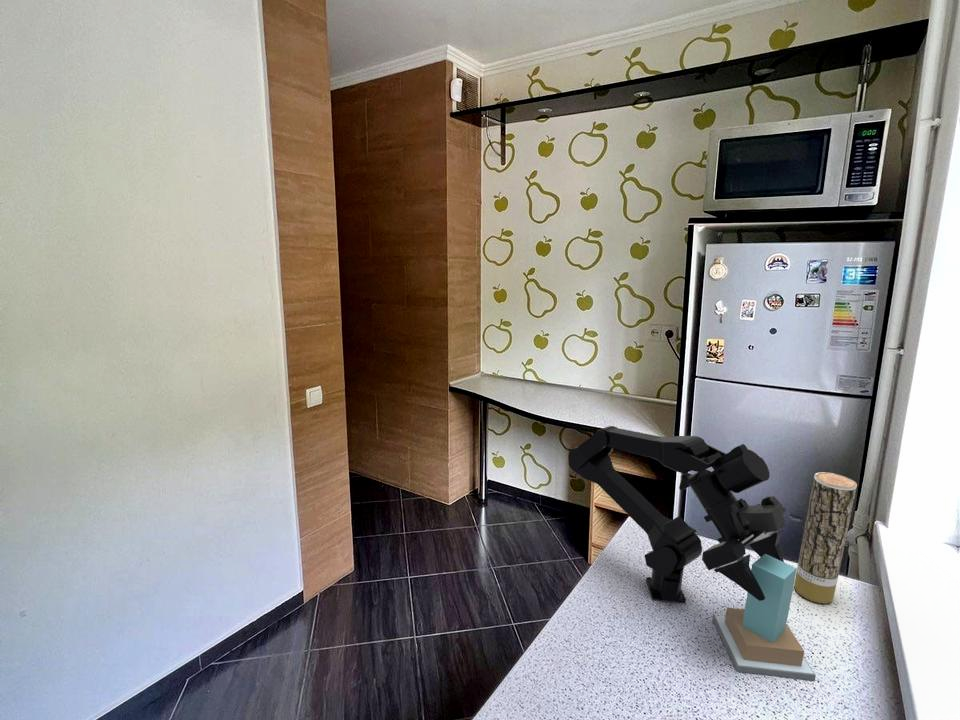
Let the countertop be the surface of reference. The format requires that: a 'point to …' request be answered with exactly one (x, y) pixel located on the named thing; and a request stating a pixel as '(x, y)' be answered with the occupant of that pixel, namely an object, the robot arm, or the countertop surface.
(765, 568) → the teal block
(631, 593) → the countertop surface
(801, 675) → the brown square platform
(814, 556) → the wooden log
